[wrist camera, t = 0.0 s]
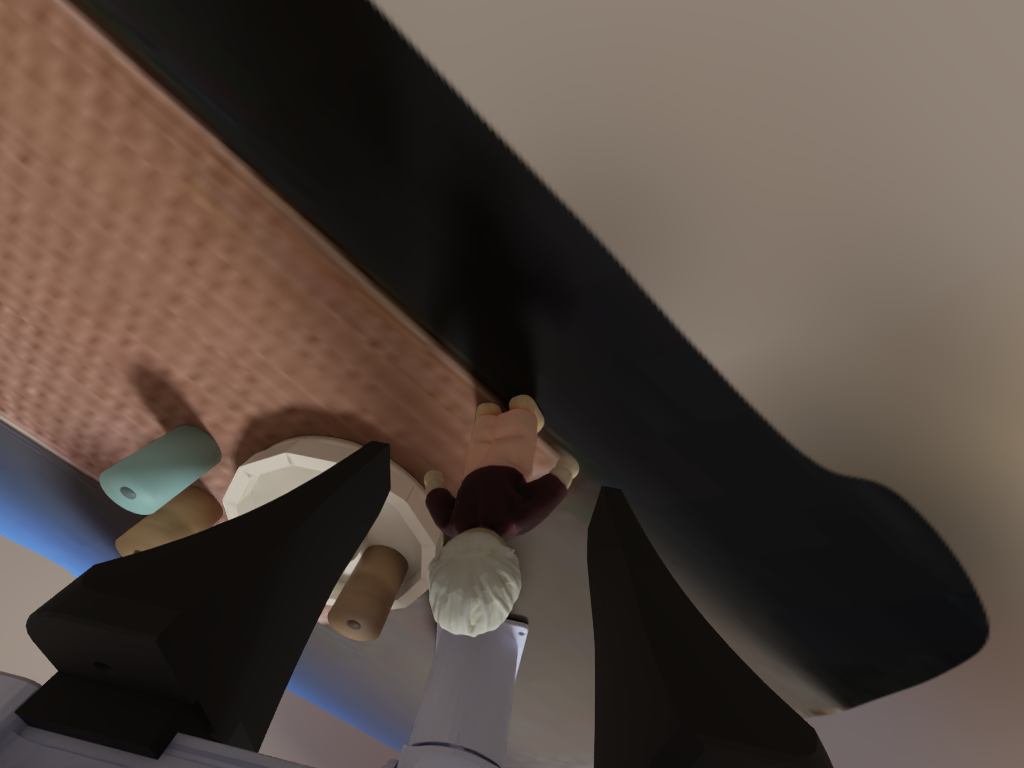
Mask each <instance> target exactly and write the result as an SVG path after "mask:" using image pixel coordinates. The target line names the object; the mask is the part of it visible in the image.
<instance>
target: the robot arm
mask: <svg viewBox="0 0 1024 768" xmlns="http://www.w3.org/2000/svg"><path fill="white" fill-rule="evenodd" d="M390 490H391V474H390V444H387V443H382V442H377V441H371V442H369V443H368V444H366V445H365V446H363V447H361V448H360V449H358V450H357V451H355V452H354V453H352V454H351V455H349V456H348V457H346V458H344V459H343V460H341V461H340V462H338V463H337V464H335V465H334V466H332V467H330V468H329V469H327V470H326V471H324V472H322V473H321V474H319V475H318V476H316V477H314V478H312V479H311V480H309V481H307V482H305V483H304V484H302V485H300V486H298V487H297V488H295V489H293V490H291V491H290V492H288V493H286V494H284V495H282V496H280V497H278V498H276V499H274V500H272V501H270V502H268V503H266V504H264V505H262V506H260V507H258V508H256V509H254V510H251V511H249V512H247V513H245V514H242V515H240V516H237V517H235V518H233V519H230V520H228V521H225V522H223V523H221V524H218V525H216V526H213V527H211V528H208V529H206V530H203V531H200V532H198V533H195V534H192V535H190V536H187V537H184V538H181V539H178V540H175V541H172V542H169V543H166V544H163V545H160V546H157V547H154V548H151V549H148V550H144V551H141V552H137V553H134V554H131V555H127V556H124V557H120V558H117V559H113V560H110V561H107V562H103V563H99V564H95V565H94V566H92V567H91V568H90V569H88V570H87V571H86V572H84V573H83V574H82V575H81V576H79V577H78V578H77V579H76V580H74V581H73V582H72V583H70V584H69V585H68V586H67V587H65V588H64V589H63V590H61V591H60V592H59V593H58V594H56V595H55V596H54V597H53V598H52V599H50V600H49V601H47V602H46V603H45V604H44V605H42V606H41V607H40V608H38V609H37V610H36V611H35V612H34V613H32V614H31V615H30V616H29V618H28V620H27V623H26V628H27V633H28V634H29V636H30V638H31V639H32V640H33V642H34V643H35V644H36V645H37V647H38V648H39V649H40V650H41V651H42V652H43V654H44V655H45V656H46V657H47V658H48V660H49V661H50V662H51V663H52V664H53V665H54V667H55V668H56V669H57V670H58V672H57V673H56V674H55V675H54V676H52V677H51V678H50V679H49V680H48V681H47V682H46V683H45V684H44V685H43V686H41V685H40V684H39V683H37V682H35V681H33V680H30V679H28V678H25V677H21V676H17V675H13V674H9V673H5V672H1V671H0V768H314V767H310V766H306V765H303V764H299V763H295V762H291V761H287V760H283V759H279V758H275V757H272V756H268V755H264V754H260V753H258V752H259V749H260V747H261V744H262V742H263V740H264V737H265V735H266V733H267V730H268V728H269V725H270V723H271V721H272V719H273V716H274V714H275V712H276V709H277V707H278V704H279V702H280V700H281V698H282V695H283V693H284V691H285V689H286V687H287V684H288V682H289V680H290V678H291V676H292V673H293V671H294V669H295V667H296V665H297V662H298V660H299V658H300V656H301V654H302V652H303V650H304V647H305V645H306V643H307V641H308V639H309V637H310V635H311V633H312V631H313V629H314V627H315V625H316V623H317V621H318V619H319V617H320V615H321V613H322V611H323V609H324V607H325V605H326V603H327V601H328V599H329V597H330V595H331V593H332V591H333V589H334V587H335V586H336V584H337V582H338V580H339V579H340V577H341V575H342V574H343V572H344V571H345V569H346V567H347V566H348V564H349V563H350V561H351V559H352V558H353V556H354V555H355V553H356V551H357V550H358V548H359V547H360V545H361V544H362V542H363V540H364V539H365V537H366V536H367V534H368V532H369V531H370V529H371V527H372V526H373V524H374V523H375V521H376V519H377V518H378V516H379V514H380V512H381V510H382V508H383V506H384V503H385V501H386V499H387V497H388V495H389V492H390ZM587 564H588V575H589V586H590V596H591V607H592V617H593V628H594V642H595V741H594V768H833V766H832V764H831V761H830V759H829V756H828V754H827V752H826V750H825V748H824V746H823V745H822V743H821V741H820V739H819V737H818V735H817V733H816V731H815V729H814V728H813V727H812V726H810V725H809V724H808V723H807V722H806V721H805V720H804V719H803V718H802V717H801V716H800V715H799V714H797V713H796V712H795V711H794V710H793V709H792V708H791V707H790V706H789V705H788V704H787V703H786V702H784V701H783V700H782V699H781V698H780V697H779V696H778V695H777V694H776V693H775V692H774V691H773V690H772V689H770V688H769V687H768V686H767V685H766V684H765V683H764V682H763V681H762V680H761V679H760V678H759V677H758V676H757V675H756V674H755V673H754V672H753V671H752V670H751V669H750V667H749V666H748V665H747V664H746V663H745V662H744V661H743V660H742V659H741V658H740V657H739V656H738V655H737V654H736V653H735V652H734V651H733V650H732V649H731V648H730V647H729V645H728V644H727V643H726V642H725V641H724V640H723V639H722V638H721V636H720V635H719V634H718V633H717V632H716V631H715V630H714V628H713V627H712V626H711V625H710V624H709V623H708V622H707V621H706V619H705V618H704V617H703V616H702V614H701V613H700V612H699V611H698V610H697V608H696V607H695V606H694V605H693V603H692V602H691V601H690V599H689V598H688V597H687V596H686V594H685V593H684V592H683V590H682V589H681V588H680V586H679V585H678V583H677V582H676V581H675V579H674V578H673V576H672V575H671V573H670V572H669V570H668V569H667V567H666V566H665V564H664V563H663V562H662V560H661V558H660V557H659V555H658V554H657V552H656V551H655V549H654V547H653V546H652V544H651V542H650V541H649V539H648V537H647V536H646V534H645V532H644V531H643V529H642V527H641V525H640V524H639V522H638V520H637V518H636V516H635V514H634V513H633V511H632V509H631V507H630V505H629V503H628V501H627V499H626V497H625V496H624V494H623V492H622V491H621V489H616V488H611V487H606V486H602V487H601V490H600V493H599V497H598V500H597V503H596V506H595V509H594V512H593V515H592V518H591V521H590V524H589V527H588V541H587ZM527 634H528V625H527V624H525V623H522V622H517V621H513V620H508V619H505V621H504V622H503V623H502V624H500V626H499V627H498V628H497V629H495V630H493V631H488V632H485V633H483V634H478V635H477V636H476V637H471V636H469V635H463V634H459V635H456V634H453V633H451V632H449V631H447V630H445V629H443V628H441V626H440V625H439V623H438V622H437V635H436V651H435V656H434V659H433V662H432V666H431V669H430V673H429V676H428V679H427V683H426V686H425V690H424V693H423V696H422V700H421V703H420V707H419V710H418V713H417V717H416V720H415V724H414V727H413V730H412V734H411V737H410V741H409V744H408V745H403V748H402V751H401V756H400V758H399V760H395V759H390V760H389V761H388V763H387V764H386V765H385V766H384V767H383V768H505V761H506V753H507V744H508V735H509V727H510V718H511V709H512V701H513V692H514V683H515V679H516V675H517V672H518V668H519V664H520V660H521V656H522V653H523V649H524V645H525V641H526V638H527Z"/></svg>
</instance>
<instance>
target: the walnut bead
mask: <svg viewBox="0 0 1024 768" xmlns="http://www.w3.org/2000/svg"><path fill="white" fill-rule="evenodd" d="M407 571H408V562H407V560H406V558H405V557H404V556H403V555H402V554H401V553H400V552H398V551H397V550H395V549H393V548H391V547H388V546H384V545H373V546H370V547H368V548H367V549H365V551H364V552H363V554H362V556H361V558H360V559H359V561H358V563H357V565H356V566H355V568H354V570H353V572H352V573H351V575H350V577H349V578H348V580H347V582H346V584H345V585H344V587H343V589H342V591H341V592H340V594H339V596H338V598H337V599H336V601H335V603H334V605H333V606H332V608H331V610H330V611H329V613H328V621H329V623H330V625H331V626H332V627H333V628H334V629H335V630H336V631H337V632H339V633H340V634H342V635H344V636H346V637H348V638H351V639H354V640H359V641H371V640H374V639H376V638H378V637H379V635H380V633H381V631H382V628H383V626H384V624H385V621H386V619H387V617H388V614H389V612H390V610H391V608H392V605H393V603H394V601H395V598H396V596H397V594H398V591H399V589H400V587H401V584H402V582H403V580H404V577H405V575H406V573H407Z"/></svg>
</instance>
